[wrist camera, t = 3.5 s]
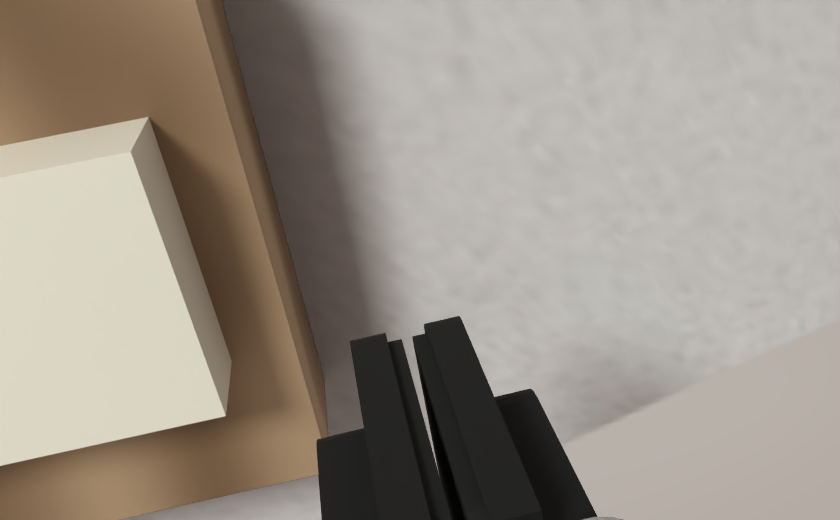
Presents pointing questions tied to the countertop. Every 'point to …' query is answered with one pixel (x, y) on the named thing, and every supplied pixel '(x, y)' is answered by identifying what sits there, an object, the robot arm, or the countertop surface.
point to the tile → (99, 297)
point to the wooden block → (210, 236)
